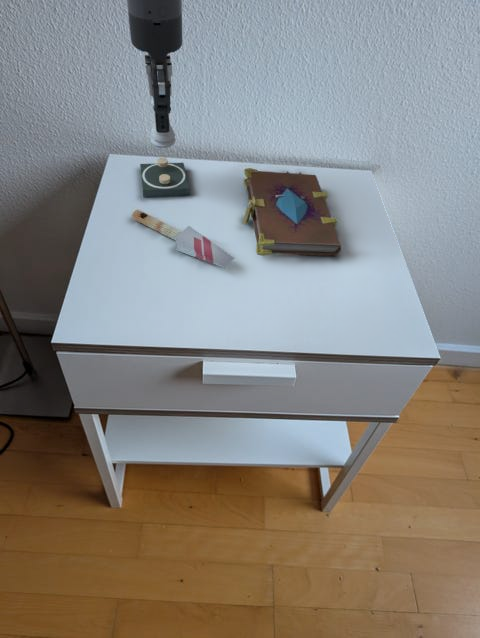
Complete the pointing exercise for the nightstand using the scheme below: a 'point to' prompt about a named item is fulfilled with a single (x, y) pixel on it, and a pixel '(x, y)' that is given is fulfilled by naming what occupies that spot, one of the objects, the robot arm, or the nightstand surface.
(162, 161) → the eye pad
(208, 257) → the grey trowel
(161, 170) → the green square board
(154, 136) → the rook chess piece
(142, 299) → the nightstand surface
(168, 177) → the eye pad
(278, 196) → the book
